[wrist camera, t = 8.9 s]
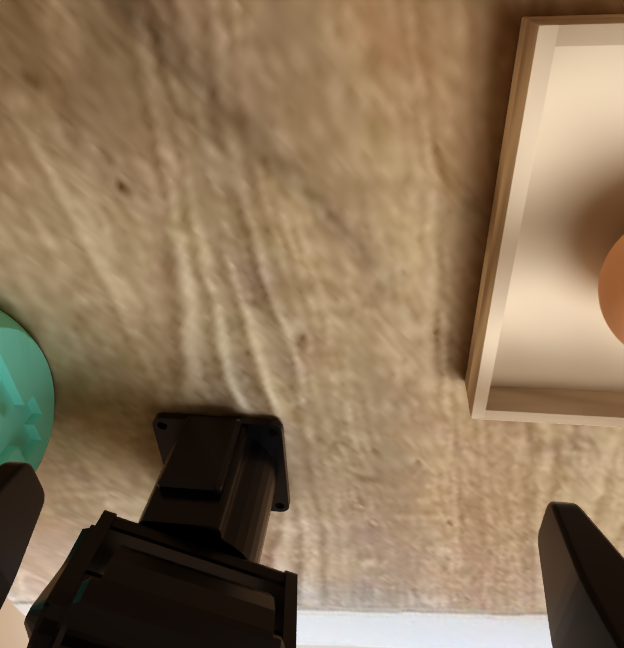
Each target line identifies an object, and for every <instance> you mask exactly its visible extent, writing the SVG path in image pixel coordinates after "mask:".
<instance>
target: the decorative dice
mask: <svg viewBox="0 0 624 648" xmlns="http://www.w3.org/2000/svg"><path fill="white" fill-rule="evenodd" d="M53 418H54V387H53V381H52V376H51V372H50V369H49V366H48V363H47V361H46V359H45V357H44V355H43V353H42V351H41V350H40V348H39V347H38V345H37V344H36V342H35V341H34V340H33V338H32V337H31V336H30V335H29V334H28V333H27V332H26V331H25V330H24V329H23V328H22V327H21V326H20V325H19V324H18V323H17V322H16V321H15V320H13V319H12V318H11V317H9V316H8V315H7V314H5V313H4V312H2V311H1V310H0V465H1V464H3V463H5V462H11V461H12V462H25V463H29V464H30V465H31V466H32V467H33V469H34V471H36V470H37V468H38V466H39V464H40V462H41V460H42V458H43V456H44V453H45V451H46V448H47V445H48V442H49V438H50V435H51V430H52V425H53Z"/></svg>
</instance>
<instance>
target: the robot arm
mask: <svg viewBox="0 0 624 648" xmlns="http://www.w3.org/2000/svg"><path fill="white" fill-rule="evenodd" d="M162 422H164V423H162ZM153 428H154V432H155V436H156V439H157V443H158V446H159V450H160V454H161V457H162V461H163V464H164V466H163V468H162V470H161V472H160V475H159V477H158V479H157V481H156V484H155V486H154V488H153V490H152V493H151V495H150V497H149V499H148V502H147V504H146V506H145V508H144V511H143V513H142V515H141V517H140V520H139V522H138V523H135V522H132V521H129V520H126V519H123V518H120V517H117V514H115V513H112V512H109V511H106V510H104V512H103V514H102V515H101V517H100V519H99V520H98V522H97V524H96V525H91V526H90V528H86V529H82V531H81V533H80V535H79V537H78V539H77V540H76V542H75V544H74V546H73V548H72V550H71V552H70V553H69V555H68V557H67V559H66V560H65V562H64V564H63V565H62V567H61V568H60V570H59V571H58V572H57V574H56V575H55V576H54V578H53V579H52V580H51V581H50V583H49V584H48V585H47V587H46V588H45V589H44V591H43V592H42V593H41V595H40V596H39V597H38V599H37V600H36V601H35V602H34V604H33V605H32V607H31V608H30V610H29V612H28V614H27V616H26V618H25V622H24V625H25V628H26V631H27V634H28V637H29V643H28V646H27V648H296V624H297V574H295V573H292V572H289V571H286V570H285V572H282V571H279V570H276V569H273V568H270V567H267V566H264V565H261V564H259V562H260V558H261V553H262V548H263V544H264V539H265V535H266V530H267V525H268V521H269V516H270V512H271V511H278V512H284V511H287V510H288V509H289V504H290V494H289V483H288V472H287V461H286V450H285V439H284V428H283V425H282V423H281V422H279V421H277V420H274V419H261V418H244V417H227V416H210V415H193V414H177V413H159V414H157V415H156V417H155V419H154V421H153ZM271 429H274V430H271ZM43 504H44V490H43V488H42V486H41V484H40V482H39V480H38V477H37V475H36V473H35V471H34V469H33V467H32V466H31V465H30V464H29V463H25V462H12V461H11V462H5V463H3V464H1V465H0V609H1V607H2V605H3V603H4V601H5V599H6V597H7V595H8V593H9V590H10V588H11V586H12V584H13V582H14V579H15V577H16V574H17V572H18V569H19V567H20V564H21V562H22V559H23V556H24V554H25V551H26V549H27V546H28V543H29V541H30V538H31V536H32V533H33V530H34V528H35V525H36V523H37V520H38V517H39V515H40V512H41V510H42V507H43ZM538 547H539V555H540V562H541V569H542V577H543V584H544V592H545V599H546V607H547V614H548V622H549V629H550V635H551V642H552V646H553V648H624V558H623V557H622V555H621V554H620V553H619V552H618V551H617V550H616V548H615V547H614V546H613V545H612V544H611V543H610V541H609V540H608V539H607V538H606V537H605V536H604V535H603V533H602V532H601V531H600V530H599V529H598V528H597V526H596V525H595V524H594V523H593V522H592V521H591V519H590V518H589V517H588V516H587V515H586V514H585V512H584V511H583V510H582V509H581V508H580V507H579V506H578V505H576V504H574V503H567V502H550V503H549V504H548V506H547V508H546V511H545V514H544V517H543V520H542V524H541V527H540V530H539V534H538Z"/></svg>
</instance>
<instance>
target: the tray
mask: <svg viewBox="0 0 624 648" xmlns="http://www.w3.org/2000/svg"><path fill="white" fill-rule="evenodd" d="M622 235H624V14H600V15H565V16H531V17H522V20H521V26H520V33H519V39H518V45H517V52H516V58H515V65H514V71H513V77H512V84H511V90H510V97H509V103H508V109H507V116H506V122H505V129H504V135H503V141H502V148H501V154H500V161H499V167H498V173H497V180H496V186H495V193H494V199H493V205H492V212H491V218H490V225H489V231H488V237H487V244H486V250H485V257H484V263H483V269H482V276H481V282H480V289H479V295H478V301H477V308H476V314H475V321H474V327H473V333H472V340H471V346H470V353H469V359H468V365H467V372H466V378H465V385H466V391H467V397H468V403H469V409H470V415H471V419H485V420H503V421H520V422H538V423H555V424H573V425H591V426H608V427H624V344H623V343H621V342H620V341H619V340H618V339H617V338H616V336H615V335H614V334H613V333H612V331H611V330H610V328H609V327H608V325H607V323H606V321H605V319H604V317H603V315H602V312H601V309H600V305H599V298H598V282H599V276H600V272H601V268H602V266H603V263H604V261H605V259H606V257H607V255H608V253H609V251H610V250H611V248H612V247H613V246H614V244H615V243H616V242H617V241H618V240H619V239H620V238H621V236H622Z"/></svg>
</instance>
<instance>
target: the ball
mask: <svg viewBox="0 0 624 648" xmlns="http://www.w3.org/2000/svg"><path fill="white" fill-rule="evenodd" d="M598 298H599V305H600V309H601V312H602V315H603V317H604V319H605V321H606V323H607V325H608V327H609V328H610V330H611V331H612V333H613V334H614V335H615V336H616V338H617V339H618V340H619V341H620V342H621V343H623V344H624V235H622V236H621V238H620V239H619V240H618V241H617V242H616V243H615V244H614V246H613V247H612V248H611V250H610V251H609V253H608V255H607V257H606V259H605V261H604V263H603V266H602V268H601V272H600V276H599V282H598Z"/></svg>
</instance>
